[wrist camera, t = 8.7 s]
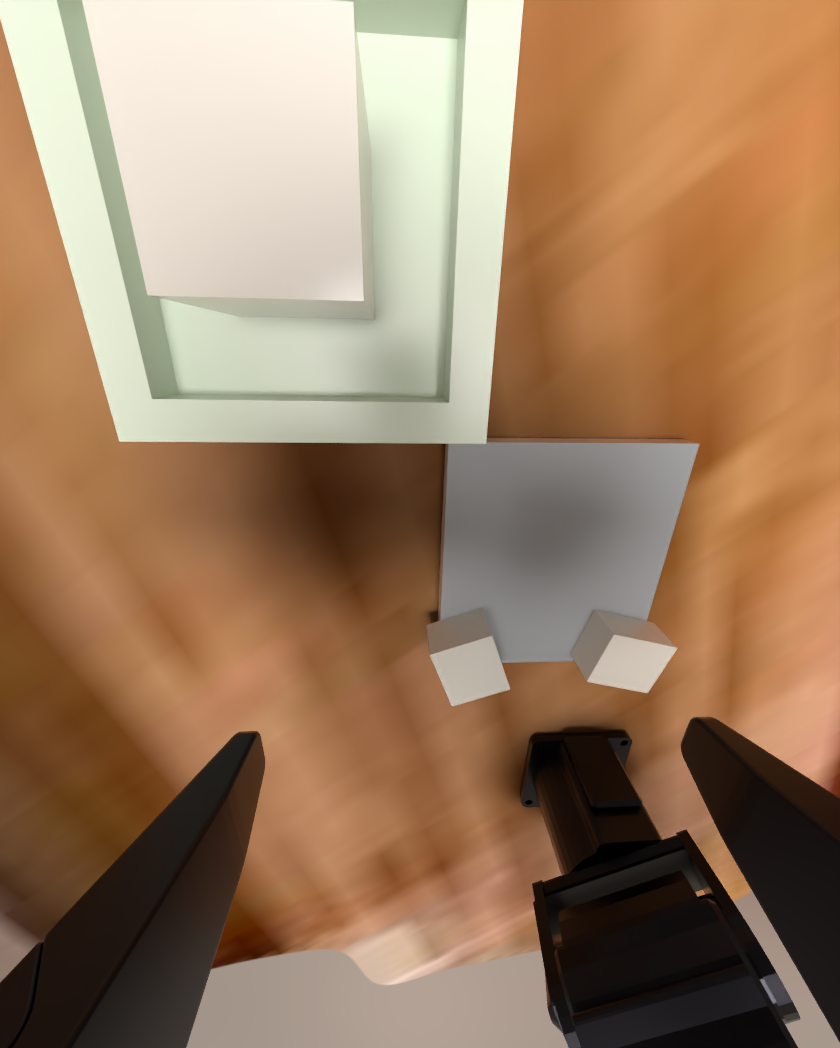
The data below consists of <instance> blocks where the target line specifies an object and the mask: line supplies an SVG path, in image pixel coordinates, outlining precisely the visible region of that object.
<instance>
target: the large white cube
mask: <svg viewBox="0 0 840 1048" xmlns="http://www.w3.org/2000/svg"><path fill="white" fill-rule="evenodd" d="M82 2H83V7H84V11H85V16H86V20H87V25H88V29H89V34H90V38H91V43H92V47H93V52H94V57H95V61H96V66H97V70H98V75H99V79H100V84H101V88H102V93H103V97H104V102H105V106H106V111H107V115H108V120H109V124H110V129H111V133H112V138H113V142H114V147H115V151H116V156H117V160H118V165H119V169H120V174H121V178H122V183H123V187H124V192H125V196H126V201H127V205H128V210H129V214H130V219H131V223H132V228H133V232H134V237H135V241H136V246H137V250H138V255H139V259H140V264H141V268H142V273H143V277H144V282H145V286H146V291H147V295H148V296H152V297H156V298H161V299H165V300H169V301H174V302H178V303H182V304H187V305H191V306H195V307H200V308H204V309H208V310H213V311H217V312H221V313H226V314H230V315H234V316H239V317H271V318H314V319H357V320H375V291H374V251H373V210H372V170H371V145H370V137H369V128H368V120H367V112H366V103H365V95H364V86H363V78H362V70H361V61H360V53H359V44H358V36H357V28H356V19H355V11H354V2H349V1H335V0H82Z"/></svg>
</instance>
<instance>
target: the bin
mask: <svg viewBox="0 0 840 1048" xmlns="http://www.w3.org/2000/svg"><path fill="white" fill-rule="evenodd" d="M335 1H349V2H354V11H355V19H356V28H357V36H358V44H359V53H360V61H361V70H362V78H363V86H364V95H365V103H366V112H367V120H368V128H369V137H370V145H371V170H372V210H373V251H374V291H375V320H357V319H314V318H271V317H239V316H234V315H230V314H226V313H221V312H217V311H213V310H208V309H204V308H200V307H195V306H191V305H187V304H182V303H178V302H174V301H169V300H165V299H161V298H156V297H152V296H148V295H147V291H146V286H145V282H144V277H143V273H142V268H141V264H140V259H139V255H138V250H137V246H136V241H135V237H134V232H133V228H132V223H131V219H130V214H129V210H128V205H127V201H126V196H125V192H124V187H123V183H122V178H121V174H120V169H119V165H118V160H117V156H116V151H115V147H114V142H113V138H112V133H111V129H110V124H109V120H108V115H107V111H106V106H105V102H104V97H103V93H102V88H101V84H100V79H99V75H98V70H97V66H96V61H95V57H94V52H93V47H92V43H91V38H90V34H89V29H88V25H87V20H86V16H85V11H84V7H83V2H82V0H0V19H1V23H2V26H3V30H4V33H5V37H6V40H7V44H8V48H9V51H10V55H11V58H12V62H13V65H14V69H15V72H16V76H17V80H18V83H19V87H20V90H21V94H22V97H23V101H24V104H25V108H26V112H27V115H28V119H29V122H30V126H31V129H32V133H33V136H34V140H35V144H36V147H37V151H38V154H39V158H40V161H41V165H42V168H43V172H44V175H45V179H46V183H47V186H48V190H49V193H50V197H51V200H52V204H53V207H54V211H55V215H56V218H57V222H58V225H59V229H60V232H61V236H62V239H63V243H64V247H65V250H66V254H67V257H68V261H69V264H70V268H71V271H72V275H73V279H74V282H75V286H76V289H77V293H78V296H79V300H80V303H81V307H82V310H83V314H84V318H85V321H86V325H87V328H88V332H89V335H90V339H91V342H92V346H93V350H94V353H95V357H96V360H97V364H98V367H99V371H100V374H101V378H102V382H103V385H104V389H105V392H106V396H107V399H108V403H109V406H110V410H111V414H112V417H113V421H114V424H115V428H116V431H117V435H118V438H119V442H278V443H440V444H486V439H487V428H488V416H489V404H490V392H491V380H492V368H493V356H494V345H495V333H496V321H497V309H498V297H499V285H500V273H501V262H502V250H503V238H504V226H505V214H506V202H507V190H508V179H509V167H510V155H511V143H512V131H513V119H514V107H515V96H516V84H517V72H518V60H519V48H520V36H521V24H522V13H523V1H524V0H335Z"/></svg>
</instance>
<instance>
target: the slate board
mask: <svg viewBox="0 0 840 1048" xmlns="http://www.w3.org/2000/svg"><path fill="white" fill-rule="evenodd" d="M698 447H699V443H696V442H692V441H689V440H686V439H607V438H487V439H486V444H446V446H445V469H444V492H443V514H442V537H441V560H440V583H439V606H438V621H437V622H434V623H431V624H428V625H426V626H427V635H428V644H429V653H430V657H431V659H432V661H433V664H434V666H435V668H436V671H437V673H438V675H439V678H440V680H441V682H442V685H443V687H444V689H445V692H446V694H447V696H448V699H449V701H450V703H451V706H452V707H453V706H456V705H459V704H463V703H466V702H469V701H473V700H476V699H479V698H483V697H486V696H490V695H493V694H496V693H500V692H503V691H506V690H510V687H509V684H508V681H507V678H506V675H505V672H504V669H503V666H502V663H516V662H552V661H575V662H576V664H577V666H578V668H579V669H580V671H581V673H582V674H583V676H584V678H585V680H586V681H587V682H591V683H596V684H601V685H607V686H612V687H617V688H623V689H628V690H633V691H639V692H644V693H648V692H649V690H650V689H651V687H652V686H653V684H654V683H655V681H656V680H657V678H658V677H659V675H660V674H661V672H662V671H663V669H664V668H665V666H666V665H667V663H668V662H669V660H670V659H671V657H672V656H673V654H674V653H675V651H676V650H677V647H676V646H675V645H674V644H673V643H672V641H671V640H670V639H669V638H668V637H667V636H666V635H665V634H664V633H663V632H662V631H661V630H660V629H659V628H658V627H657V626H656V625H655V624H654V623H653V622H650V621H647V618H648V615H649V611H650V608H651V605H652V601H653V598H654V595H655V591H656V588H657V585H658V581H659V578H660V575H661V571H662V568H663V564H664V561H665V558H666V554H667V551H668V548H669V544H670V541H671V538H672V534H673V531H674V527H675V524H676V521H677V517H678V514H679V511H680V507H681V504H682V501H683V497H684V494H685V490H686V487H687V484H688V480H689V477H690V474H691V470H692V467H693V464H694V460H695V457H696V453H697V450H698Z"/></svg>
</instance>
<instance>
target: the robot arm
mask: <svg viewBox="0 0 840 1048" xmlns="http://www.w3.org/2000/svg"><path fill="white" fill-rule="evenodd" d="M631 744H632V740H631V738H630V737H629V735H628V733H626V732H612V733H587V734H561V735H538V736H535V737H533V738H532V739H531V740H530V745H529V750H528V756H527V761H526V767H525V772H524V778H523V783H522V789H521V794H520V799H521V803H522V805H523V806H525V807H539V806H540V808H541V811H542V814H543V817H544V820H545V823H546V827H547V830H548V833H549V836H550V839H551V842H552V845H553V849H554V852H555V855H556V858H557V861H558V864H559V867H560V870H561V874H562V876H559V877H556V878H553V879H550V880H548V881H545V882H543V881H542V880H541V881H538V882H535V883H533V884H532V886H533V892H534V897H535V901H534V902H533V905H534V910H535V915H536V921H537V927H538V933H539V939H540V945H541V951H542V957H543V962H544V968H545V977H546V991H547V1005H548V1011H549V1015H550V1018H551V1020H552V1023H553V1024H554V1025H555V1026H556V1027H557V1028H558V1029H559V1030H560V1031H561V1032H562V1033H563V1035H564V1037H565V1039H566V1041H567V1044H568V1047H569V1048H798V1047H797V1045H796V1044H795V1042H794V1040H793V1038H792V1036H791V1034H790V1033H789V1031H788V1029H787V1027H786V1026H785V1024H786V1023H790V1022H794V1021H797V1020H800V1016H799V1014H798V1011H797V1010H796V1007H795V1006H794V1003H793V1002H792V1000H791V998H790V996H789V994H788V992H787V991H786V989H785V987H784V985H783V983H782V982H781V980H780V978H779V976H778V975H777V973H776V971H775V969H774V968H773V966H772V964H771V962H770V961H769V959H768V957H767V956H766V954H765V952H764V951H763V949H762V947H761V946H760V944H759V942H758V941H757V939H756V937H755V936H754V934H753V932H752V931H751V929H750V927H749V926H748V924H747V923H746V921H745V920H744V918H743V916H742V915H741V913H740V912H739V910H738V909H737V907H736V906H735V904H734V902H733V901H732V899H731V898H730V896H729V895H728V893H727V892H726V890H725V889H724V887H723V886H722V884H721V882H720V881H719V879H718V878H717V876H716V875H715V873H714V872H713V870H712V869H711V867H710V866H709V864H708V862H707V861H706V859H705V858H704V856H703V855H702V853H701V852H700V850H699V849H698V847H697V845H696V844H695V842H694V841H693V839H692V838H691V836H690V835H689V833H688V832H687V830H683V831H680V832H677V833H676V834H677V835H676V836H673V837H670V838H667V839H665V840H662V838H661V836H660V834H659V833H658V831H657V829H656V827H655V825H654V823H653V822H652V820H651V818H650V816H649V814H648V813H647V811H646V809H645V807H644V805H643V802H642V799H641V797H640V796H639V794H638V792H637V790H636V788H635V787H634V785H633V783H632V781H631V779H630V778H629V776H628V774H627V772H626V770H625V768H624V765H625V762H626V759H627V756H628V753H629V750H630V747H631ZM681 752H682V755H683V758H684V760H685V762H686V764H687V766H688V768H689V770H690V772H691V775H692V777H693V779H694V781H695V783H696V785H697V787H698V789H699V791H700V793H701V796H702V798H703V800H704V802H705V804H706V806H707V808H708V810H709V812H710V814H711V816H712V819H713V821H714V823H715V825H716V827H717V829H718V831H719V833H720V835H721V837H722V839H723V840H724V842H725V844H726V846H727V848H728V849H729V851H730V853H731V855H732V856H733V858H734V860H735V862H736V863H737V865H738V867H739V869H740V870H741V872H742V874H743V875H744V877H745V879H746V881H747V882H748V884H749V886H750V888H751V889H752V891H753V893H754V895H755V896H756V898H757V900H758V901H759V903H760V905H761V907H762V908H763V910H764V912H765V913H766V915H767V917H768V919H769V920H770V922H771V924H772V925H773V927H774V929H775V931H776V933H777V934H778V936H779V938H780V940H781V941H782V943H783V945H784V947H785V948H786V950H787V952H788V953H789V955H790V957H791V959H792V960H793V962H794V964H795V965H796V967H797V969H798V971H799V972H800V974H801V976H802V978H803V979H804V981H805V983H806V984H807V986H808V988H809V990H810V991H811V993H812V995H813V997H814V998H815V1000H816V1002H817V1004H818V1005H819V1007H820V1009H821V1011H822V1012H823V1014H824V1016H825V1018H826V1019H827V1021H828V1023H829V1024H830V1026H831V1028H832V1029H833V1031H834V1033H835V1035H836V1036H837V1038H838V1040H839V1042H840V798H838V797H837V796H835V795H834V794H832V793H831V792H829V791H827V790H826V789H824V788H823V787H821V786H820V785H818V784H817V783H815V782H813V781H812V780H810V779H809V778H807V777H806V776H804V775H803V774H801V773H800V772H798V771H796V770H795V769H793V768H792V767H790V766H789V765H787V764H786V763H784V762H782V761H781V760H779V759H778V758H776V757H775V756H773V755H772V754H770V753H768V752H767V751H765V750H764V749H762V748H761V747H759V746H758V745H756V744H754V743H753V742H751V741H750V740H748V739H747V738H745V737H744V736H742V735H740V734H739V733H737V732H736V731H734V730H733V729H731V728H730V727H728V726H726V725H725V724H723V723H722V722H720V721H719V720H717V719H715V718H712V717H694V718H692V719H691V720H690V722H689V724H688V726H687V729H686V732H685V734H684V737H683V739H682V742H681ZM264 770H265V756H264V751H263V746H262V741H261V736H260V734H259V732H257V731H245V732H238V733H237V734H235V735H234V736H233V737H232V738H231V739H230V740H229V741H228V742H227V743H226V745H225V746H224V747H223V748H222V749H221V750H220V751H219V752H218V753H217V754H216V755H215V756H214V757H213V758H212V759H211V760H210V761H209V763H208V764H207V765H206V766H205V767H204V768H203V769H202V770H201V771H200V772H199V773H198V774H197V775H196V776H195V777H194V778H193V780H192V781H191V782H190V783H189V784H188V785H187V786H186V787H185V788H184V789H183V790H182V791H181V792H180V793H179V794H178V795H177V796H176V798H175V799H174V800H173V801H172V802H171V803H170V804H169V805H168V806H167V807H166V808H165V809H164V810H163V811H162V812H161V813H160V814H159V816H158V817H157V818H156V819H155V820H154V821H153V822H152V823H151V824H150V825H149V826H148V827H147V828H146V829H145V830H144V831H143V832H142V834H141V835H140V836H139V837H138V838H137V839H136V840H135V841H134V842H133V843H132V844H131V845H130V846H129V847H128V848H127V849H126V851H125V852H124V853H123V854H122V855H121V856H120V857H119V858H118V859H117V860H116V861H115V862H114V863H113V864H112V865H111V866H110V867H109V869H108V870H107V871H106V872H105V873H104V874H103V875H102V876H101V877H100V878H99V879H98V880H97V881H96V882H95V883H94V884H93V885H92V887H91V888H90V889H89V890H88V891H87V892H86V893H85V894H84V895H83V896H82V897H81V898H80V899H79V900H78V901H77V902H76V904H75V905H74V906H73V907H72V908H71V909H70V910H69V911H68V912H67V913H66V914H65V915H64V916H63V917H62V918H61V919H60V920H59V922H58V923H57V924H56V925H55V926H54V927H53V928H52V929H51V930H50V931H49V932H48V933H47V934H46V935H45V937H44V940H43V942H39V943H38V944H37V945H36V946H35V947H34V948H33V949H32V950H31V951H30V952H29V953H28V954H27V955H26V956H25V957H24V958H23V959H22V960H21V962H20V963H19V964H18V965H17V966H16V967H15V968H14V969H13V970H12V971H11V972H10V973H9V974H8V975H7V976H6V977H5V978H4V979H3V980H2V981H1V982H0V1048H186V1046H187V1043H188V1040H189V1037H190V1034H191V1030H192V1027H193V1024H194V1021H195V1018H196V1015H197V1012H198V1008H199V1005H200V1002H201V999H202V996H203V992H204V989H205V986H206V983H207V980H208V977H209V974H210V970H211V967H212V964H213V961H214V958H215V954H216V951H217V948H218V945H219V942H220V939H221V935H222V932H223V929H224V926H225V923H226V920H227V916H228V913H229V910H230V907H231V904H232V901H233V897H234V894H235V891H236V888H237V885H238V882H239V878H240V875H241V872H242V868H243V865H244V861H245V857H246V853H247V848H248V844H249V839H250V835H251V830H252V826H253V821H254V816H255V812H256V807H257V803H258V798H259V793H260V789H261V784H262V780H263V775H264ZM700 890H703V891H704V892H705V895H702V896H699V897H697V895H696V893H695V892H697V891H700Z"/></svg>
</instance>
